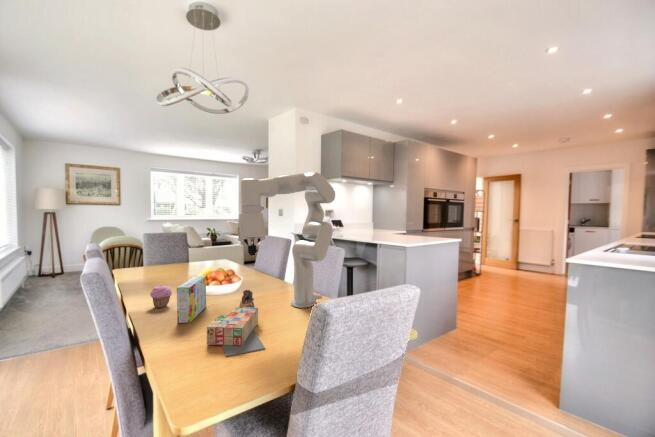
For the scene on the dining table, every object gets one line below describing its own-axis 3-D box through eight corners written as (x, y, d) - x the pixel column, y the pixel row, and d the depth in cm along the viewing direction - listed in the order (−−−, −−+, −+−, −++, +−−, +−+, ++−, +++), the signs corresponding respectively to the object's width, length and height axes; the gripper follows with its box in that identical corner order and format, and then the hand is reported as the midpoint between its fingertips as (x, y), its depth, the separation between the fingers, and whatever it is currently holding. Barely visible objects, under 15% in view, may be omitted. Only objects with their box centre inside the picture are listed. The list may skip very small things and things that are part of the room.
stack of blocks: (258, 322, 123) (228, 321, 123) (258, 307, 123) (228, 306, 123) (241, 346, 101) (205, 345, 102) (241, 327, 101) (205, 326, 102)
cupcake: (146, 308, 141) (146, 286, 140) (162, 302, 149) (162, 282, 148) (159, 310, 137) (159, 288, 137) (175, 305, 145) (175, 284, 145)
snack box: (194, 307, 143) (194, 275, 143) (206, 307, 143) (206, 275, 143) (176, 323, 122) (176, 286, 121) (190, 323, 122) (190, 286, 122)
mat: (249, 322, 124) (249, 321, 124) (265, 349, 100) (265, 348, 100) (216, 327, 118) (216, 326, 118) (225, 356, 95) (225, 355, 95)
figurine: (258, 316, 132) (258, 288, 132) (248, 321, 125) (248, 292, 125) (245, 313, 135) (246, 286, 135) (234, 318, 128) (234, 290, 128)
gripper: (266, 209, 128) (267, 252, 129) (230, 209, 121) (231, 255, 122) (272, 209, 121) (272, 254, 122) (233, 210, 114) (235, 258, 115)
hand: (252, 254), depth 122 cm, fingers closed
